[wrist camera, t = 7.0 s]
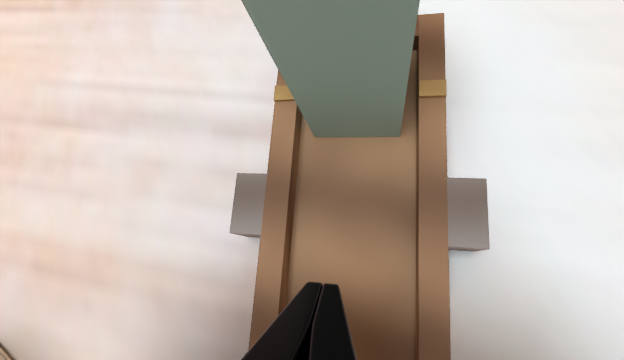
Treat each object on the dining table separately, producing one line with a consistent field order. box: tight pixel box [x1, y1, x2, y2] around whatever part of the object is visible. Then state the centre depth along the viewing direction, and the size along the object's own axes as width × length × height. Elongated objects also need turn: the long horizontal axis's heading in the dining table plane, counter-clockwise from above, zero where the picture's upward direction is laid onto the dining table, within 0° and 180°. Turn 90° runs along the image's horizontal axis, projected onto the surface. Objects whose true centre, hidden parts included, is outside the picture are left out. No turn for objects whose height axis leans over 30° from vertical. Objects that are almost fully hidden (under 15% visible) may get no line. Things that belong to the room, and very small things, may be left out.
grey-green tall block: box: [241, 0, 420, 137], centre depth 12 cm, size 4×4×13 cm
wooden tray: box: [230, 13, 489, 360], centre depth 16 cm, size 20×12×3 cm, turn 176°
